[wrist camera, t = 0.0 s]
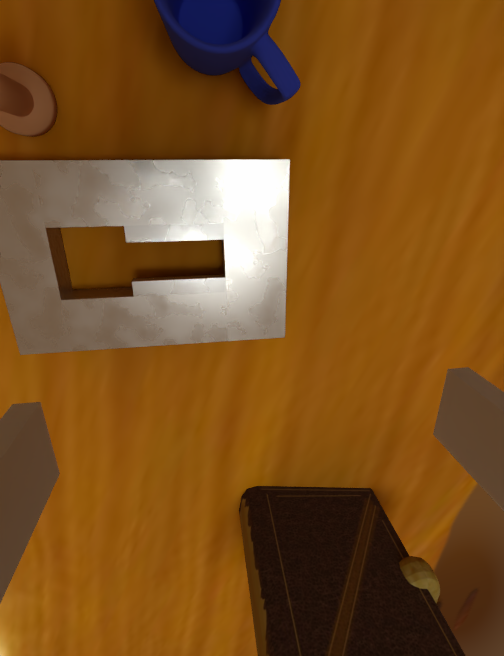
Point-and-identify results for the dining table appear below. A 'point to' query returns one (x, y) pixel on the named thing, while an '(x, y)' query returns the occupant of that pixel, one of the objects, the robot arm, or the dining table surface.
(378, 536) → the book
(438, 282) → the dining table surface
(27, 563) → the dining table surface
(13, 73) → the headed peg
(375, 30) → the dining table surface
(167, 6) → the mug
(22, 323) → the keyhole plate
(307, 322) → the dining table surface
